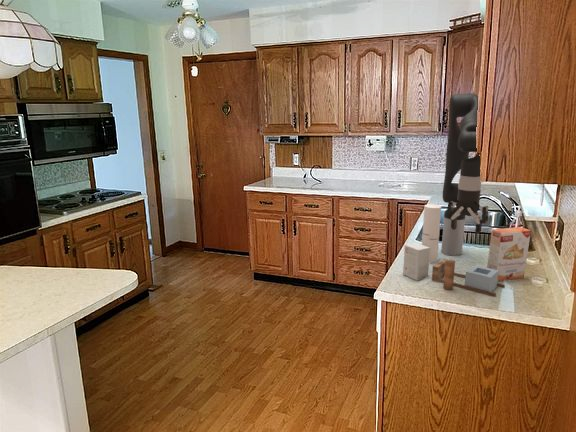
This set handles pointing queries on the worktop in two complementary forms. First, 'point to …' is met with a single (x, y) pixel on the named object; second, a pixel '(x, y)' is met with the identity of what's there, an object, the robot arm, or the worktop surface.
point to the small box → (416, 261)
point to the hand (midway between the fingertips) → (465, 231)
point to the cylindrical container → (431, 230)
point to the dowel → (449, 274)
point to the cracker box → (509, 252)
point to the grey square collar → (481, 278)
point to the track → (440, 270)
